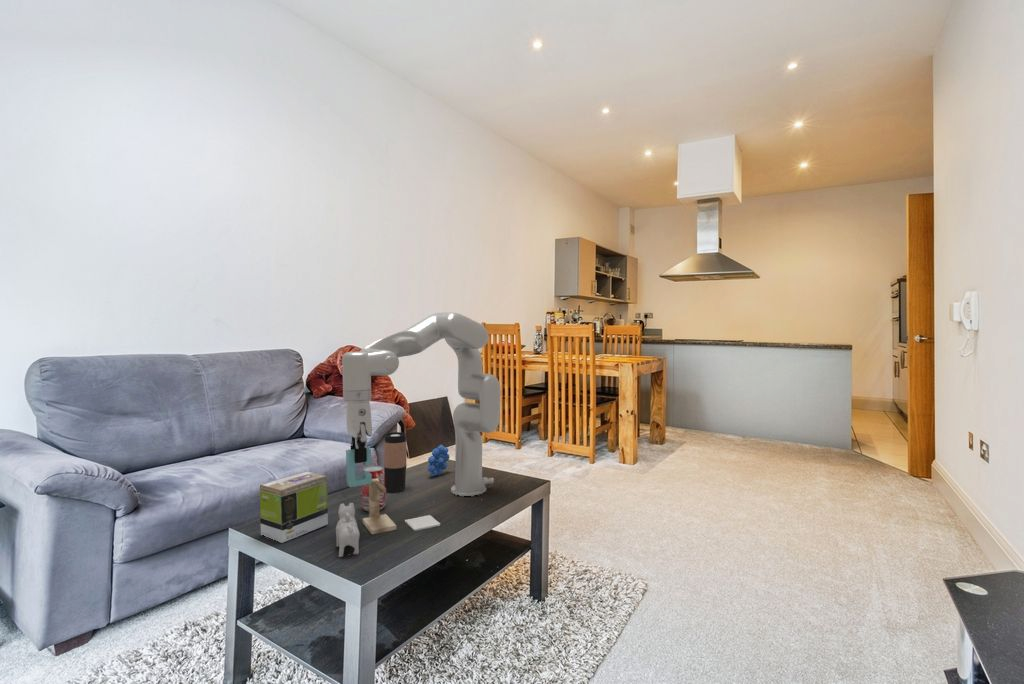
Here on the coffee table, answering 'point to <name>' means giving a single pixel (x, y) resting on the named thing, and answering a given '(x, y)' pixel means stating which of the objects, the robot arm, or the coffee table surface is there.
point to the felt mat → (422, 522)
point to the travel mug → (395, 461)
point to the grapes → (438, 460)
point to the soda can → (376, 473)
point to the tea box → (293, 506)
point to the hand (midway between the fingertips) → (358, 459)
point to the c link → (351, 473)
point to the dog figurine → (347, 529)
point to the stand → (377, 511)
